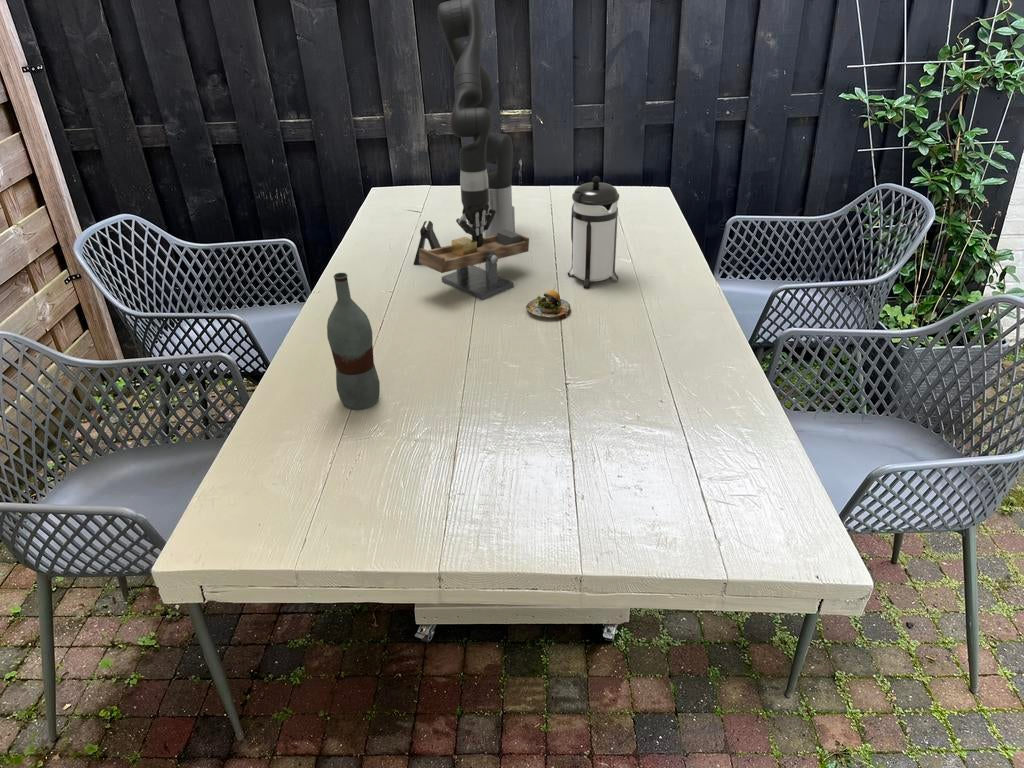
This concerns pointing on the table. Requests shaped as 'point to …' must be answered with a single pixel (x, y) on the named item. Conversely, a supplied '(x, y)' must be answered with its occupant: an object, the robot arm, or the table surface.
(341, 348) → the bottle
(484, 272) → the pivot stand
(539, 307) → the burger
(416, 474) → the table surface
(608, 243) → the coffee press
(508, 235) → the block
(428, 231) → the phone stand
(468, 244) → the brass block
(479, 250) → the beam
